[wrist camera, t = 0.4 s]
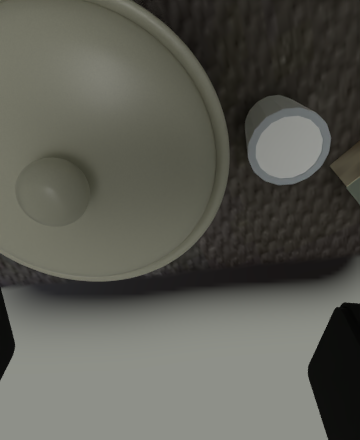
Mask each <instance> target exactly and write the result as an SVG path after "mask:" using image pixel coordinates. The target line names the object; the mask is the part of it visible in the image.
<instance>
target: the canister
mask: <svg viewBox="0 0 360 440" xmlns="http://www.w3.org/2000/svg"><path fill="white" fill-rule="evenodd" d="M229 161H230V151H229V139H228V132H227V126H226V122H225V117H224V114H223V110H222V107H221V104H220V102H219V99H218V96H217V94H216V92H215V89H214V87H213V85H212V83H211V81H210V79H209V77H208V76H207V74H206V72H205V71H204V69H203V67H202V66H201V64H200V63H199V61H198V60H197V58H196V57H195V56H194V54H193V53H192V52H191V51H190V49H189V48H188V47H187V46H186V44H185V43H184V42H183V41H182V40H181V39H180V38H179V37H178V36H177V35H176V34H175V33H174V32H173V31H172V30H171V29H170V28H169V27H168V26H167V25H166V24H165V23H163V22H162V21H161V20H160V19H159V18H157V17H156V16H155V15H153V14H152V13H151V12H149V11H148V10H146V9H145V8H143V7H142V6H140V5H139V4H137V3H135V2H134V1H132V0H0V253H1V254H3V255H5V256H6V257H8V258H10V259H12V260H14V261H16V262H18V263H20V264H22V265H24V266H27V267H29V268H32V269H34V270H37V271H40V272H43V273H46V274H49V275H53V276H57V277H61V278H66V279H72V280H80V281H115V280H122V279H128V278H132V277H136V276H140V275H143V274H146V273H149V272H152V271H154V270H156V269H159V268H161V267H163V266H165V265H167V264H168V263H170V262H172V261H173V260H175V259H177V258H178V257H179V256H181V255H182V254H184V253H185V252H186V251H187V250H188V249H189V248H191V247H192V246H193V245H194V244H195V243H196V242H197V241H198V240H199V238H200V237H201V236H202V235H203V234H204V232H205V231H206V230H207V228H208V227H209V225H210V224H211V222H212V221H213V219H214V217H215V215H216V213H217V211H218V209H219V207H220V204H221V202H222V199H223V196H224V193H225V189H226V185H227V180H228V173H229Z"/></svg>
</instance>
